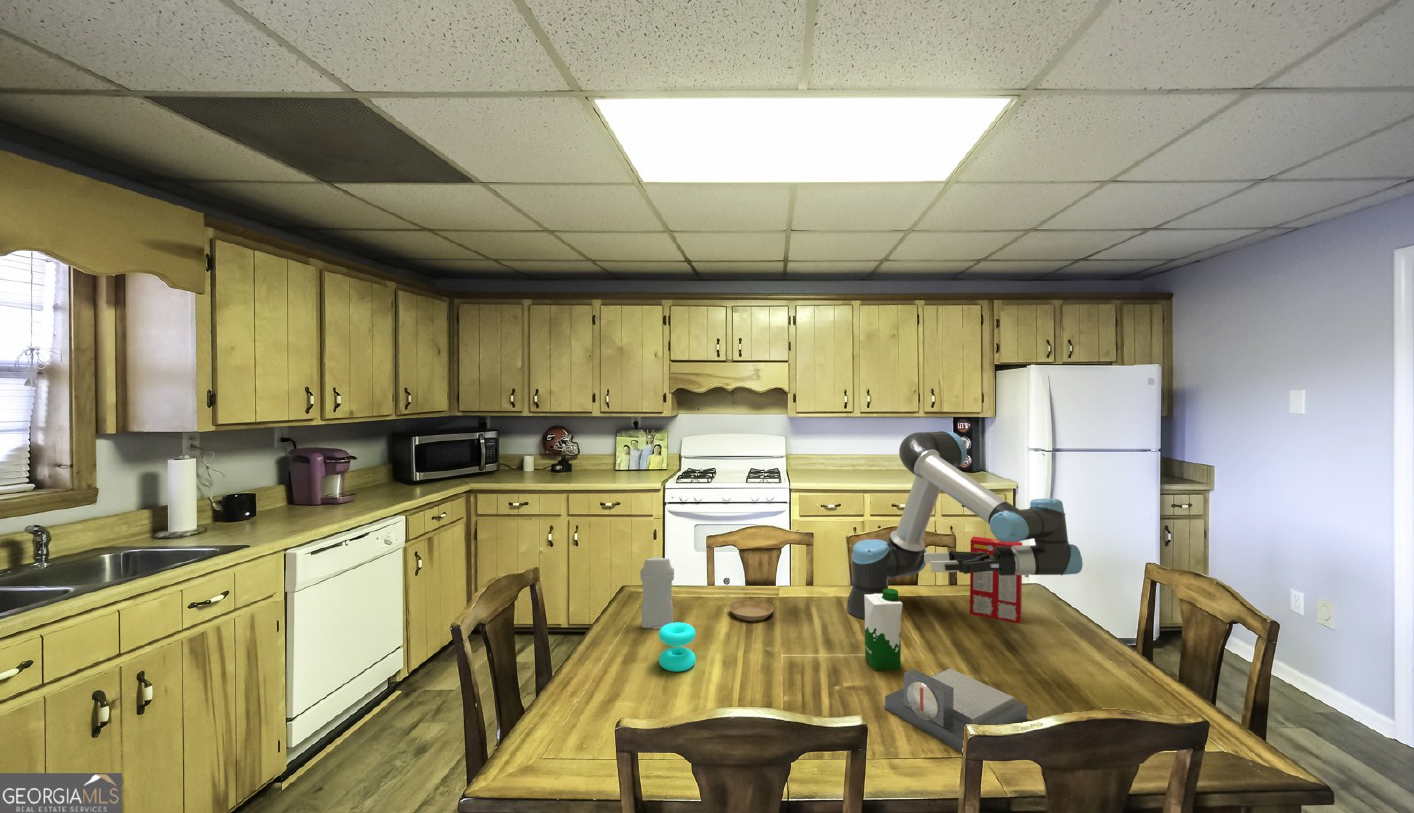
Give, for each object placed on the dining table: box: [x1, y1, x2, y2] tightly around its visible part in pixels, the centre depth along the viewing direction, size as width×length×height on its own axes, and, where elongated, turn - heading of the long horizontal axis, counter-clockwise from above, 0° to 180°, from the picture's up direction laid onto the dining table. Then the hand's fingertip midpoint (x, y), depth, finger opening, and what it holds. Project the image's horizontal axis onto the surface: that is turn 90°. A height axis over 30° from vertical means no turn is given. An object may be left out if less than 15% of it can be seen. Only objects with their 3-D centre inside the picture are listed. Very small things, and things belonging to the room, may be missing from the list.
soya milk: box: [864, 587, 903, 671], centre depth 153 cm, size 9×9×20 cm
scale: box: [884, 668, 1028, 754], centre depth 129 cm, size 20×24×10 cm
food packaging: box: [969, 535, 1023, 624], centre depth 186 cm, size 15×5×25 cm, turn 58°
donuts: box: [658, 621, 697, 673], centre depth 152 cm, size 10×10×10 cm
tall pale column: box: [639, 557, 675, 630], centre depth 177 cm, size 11×4×22 cm, turn 95°
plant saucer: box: [728, 599, 774, 622], centre depth 187 cm, size 15×15×3 cm
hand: (927, 562), depth 154 cm, fingers open, 13 cm apart
